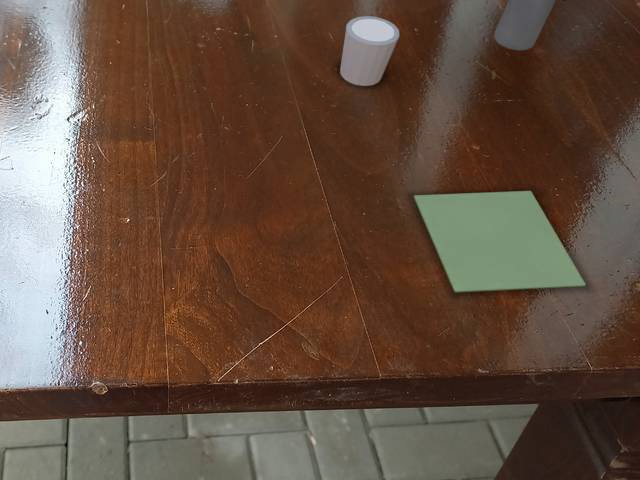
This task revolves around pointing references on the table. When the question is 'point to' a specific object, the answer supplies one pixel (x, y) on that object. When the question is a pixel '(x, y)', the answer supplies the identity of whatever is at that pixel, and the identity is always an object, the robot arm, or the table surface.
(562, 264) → the cloth
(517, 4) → the grey hollow cylinder
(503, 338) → the table surface
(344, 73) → the white short cylinder
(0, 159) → the table surface
